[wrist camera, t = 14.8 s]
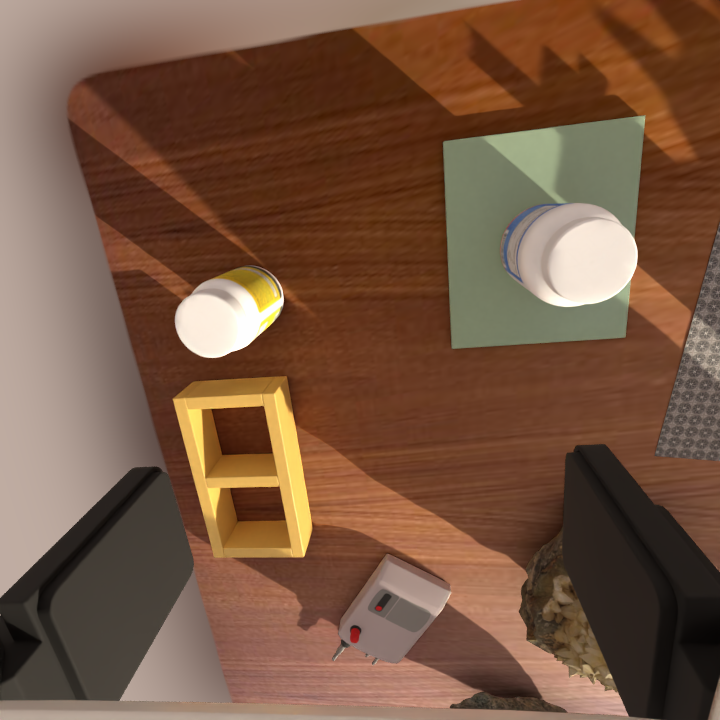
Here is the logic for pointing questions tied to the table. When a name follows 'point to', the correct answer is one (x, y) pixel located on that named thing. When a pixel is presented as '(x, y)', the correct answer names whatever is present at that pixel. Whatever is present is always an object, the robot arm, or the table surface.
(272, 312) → the supplement bottle
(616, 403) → the table surface
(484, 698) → the rock
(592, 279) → the pill bottle
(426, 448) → the table surface
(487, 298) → the mat
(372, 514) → the table surface
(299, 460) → the bottle holder
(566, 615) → the mineral specimen
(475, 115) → the table surface
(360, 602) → the grey electronic device
